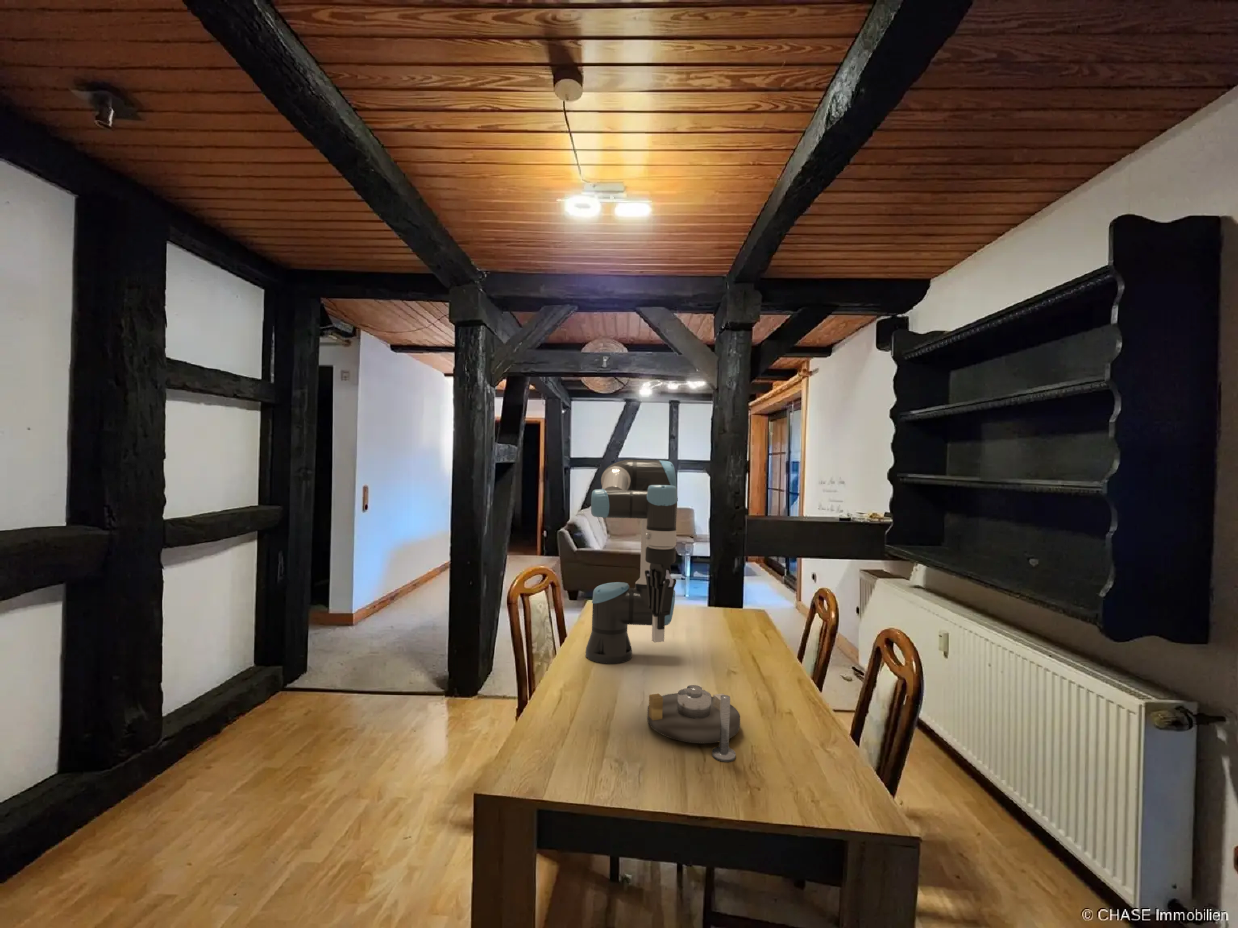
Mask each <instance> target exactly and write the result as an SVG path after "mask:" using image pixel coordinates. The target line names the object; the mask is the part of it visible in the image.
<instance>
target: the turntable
mask: <svg viewBox="0 0 1238 928" xmlns="http://www.w3.org/2000/svg"><path fill="white" fill-rule="evenodd" d="M648 697H649V698H648V706H647V712H646V713H647V716H646V717H647V719H646V720H647V723H648V724H649V726H650V727H651V728H652V729H654V731H655V732H657V733H658V734H660V735H663V736H665V737H667V738H669V739H673V740H676V741H679V742H684V743H691V744H714V743H719V739H720V711H719V710H718V709H717V708H715V707H714V706H713V696H712V695H711V714H710V715H709V716H708V717H706V718H702V719H692V718H687V717H684V716H682V715H680V714H679V713H678V711H677V701H678V692H675V693H667V694H664V695H661V694H660V693H653V694H648ZM740 729H741V715H740V712H739V711H738V709H737V708H736V707H735V706H734V705H732V704H731V703H730V719H729V739H731V738H732V737H735V736H736V735H737V734H738V733H739V731H740Z"/></svg>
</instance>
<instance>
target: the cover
mask: <svg viewBox="0 0 1238 928" xmlns="http://www.w3.org/2000/svg"><path fill="white" fill-rule="evenodd" d="M677 693H678V701H677V711H678V713H679V714H680V715H682V716H684V717H687V718H692V719H702V718H706V717H708V716H709V715H710V714H711V696H712V694H711V693H710V692H709V691H707V690H705V689H703V687H702V686H700V685H698V684H691V685H690V684H689V685H687V687H686V688H682V689H680V690H678V691H677Z"/></svg>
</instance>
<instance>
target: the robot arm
mask: <svg viewBox="0 0 1238 928" xmlns="http://www.w3.org/2000/svg"><path fill="white" fill-rule="evenodd" d="M600 483H601V488H599V489H593V490H592V492H591V496H590V497H591V499H590V511H591V515H592V516H593V517H594V518H603V519H607V518H608V519H637V520H638V519H641V528H640V529H641V530H640V532H641V533H640V564H639V565H640V567H639V569H640V573H639V578H638V579H637V580H636V581H635V584H634V585H635V586H634V587H630V585H629V583H627V582H621V581H616V582H615V581H614V582H607V583H602V584H600V585H598V586H596V587H595V588H594V589H593V591H592V600H591V604H592V612H591V613H592V615H591V616H592V617H591V632H590V636H589V638H588V641H587V644H586V647H585V657H586V658H587V657H588V658H589V659H588V658H587V659H588V660H590V661H592V662H594V661H596V662H595V663H599V662H600V663H599V664H609V665H610V664H612V665H613V664H620V663H625V662H627V661H630V660H631V659H632V657H633V648H632V645H631V641H630V638H629V633H628V626H631V625H632V626H651V627H652V628H651V641H652V642H653V643H663V642H665V631H666V629H665V626H668V625H670V624H671V622H672V620H673V615H674V610H675V609H674V608H675V605H676V604H675V602H676V590H675V586H676V584H677V579H676V578H673V577H672V576H671V575H672V569H671V565H672V564H674V563H676V555H677V550H676V548H675V547H676V546H677V518H678V517H677V514H678V501H679V500H678V498H679V497H678V486H677V476H676V470H675V466H674V464H673V463H672V462H671V461H667V460H660V459H659V460H658V459H656V460H655V459H650V460H649V459H625V460H620V461H617V462H615V463H612V464H610V465H609V466H608V467H607V468H605V469H604V471H603V472H602V474H601V478H600Z"/></svg>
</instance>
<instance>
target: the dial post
mask: <svg viewBox="0 0 1238 928" xmlns="http://www.w3.org/2000/svg"><path fill="white" fill-rule="evenodd" d="M712 697H713V706H714V707H715V708H717V709H718V710H719V711H720V739H719V742H718V744H719V745H718V746H715V747H713V748H712V750H711V756H712V757H713V759H714V760H715V761H718V762H722V763H731V762H733V761H735V760H736V752H735V750H734V749H733V748H731V747H730V746H729V745H730V742H729V741H730V738H729V719H730V704H731V696H730V695H727V694H724V693H716V694H713V696H712Z"/></svg>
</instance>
